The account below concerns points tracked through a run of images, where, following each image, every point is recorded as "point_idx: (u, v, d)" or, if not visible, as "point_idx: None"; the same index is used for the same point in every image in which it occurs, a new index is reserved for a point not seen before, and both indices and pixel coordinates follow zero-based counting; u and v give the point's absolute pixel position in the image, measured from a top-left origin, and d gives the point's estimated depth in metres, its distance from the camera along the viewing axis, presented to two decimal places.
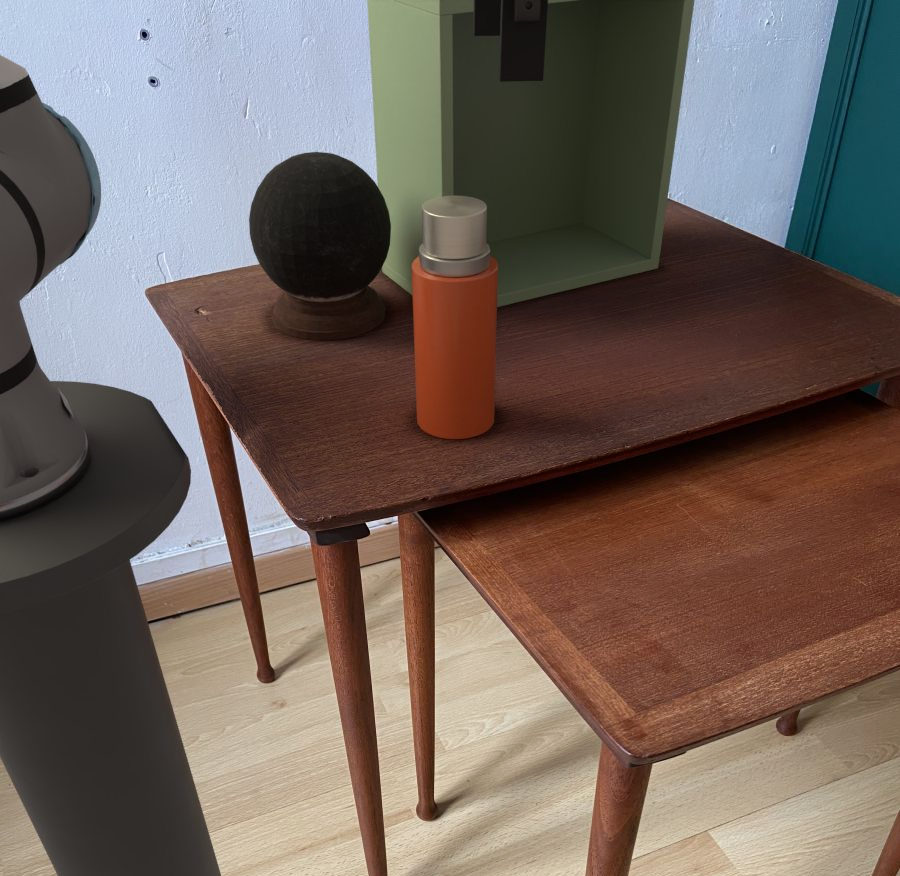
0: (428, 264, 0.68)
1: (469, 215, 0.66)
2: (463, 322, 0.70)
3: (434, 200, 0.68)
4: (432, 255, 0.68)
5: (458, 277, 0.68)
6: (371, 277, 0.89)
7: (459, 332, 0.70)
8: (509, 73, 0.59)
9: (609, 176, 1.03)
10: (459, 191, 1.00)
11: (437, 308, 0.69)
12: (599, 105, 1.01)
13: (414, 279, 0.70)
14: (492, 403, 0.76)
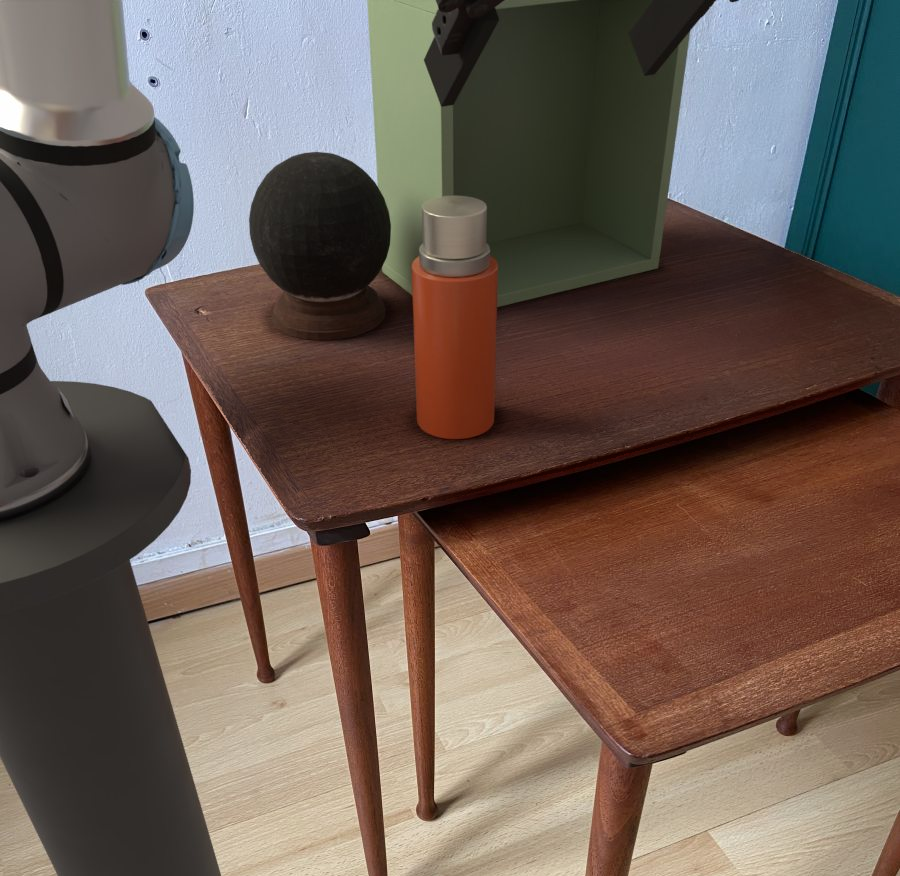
0: (428, 264, 0.68)
1: (469, 215, 0.66)
2: (463, 322, 0.70)
3: (434, 200, 0.68)
4: (432, 255, 0.68)
5: (458, 277, 0.68)
6: (371, 277, 0.89)
7: (459, 332, 0.70)
8: (429, 64, 0.51)
9: (609, 176, 1.03)
10: (459, 191, 1.00)
11: (437, 308, 0.69)
12: (599, 105, 1.01)
13: (414, 279, 0.70)
14: (492, 403, 0.76)
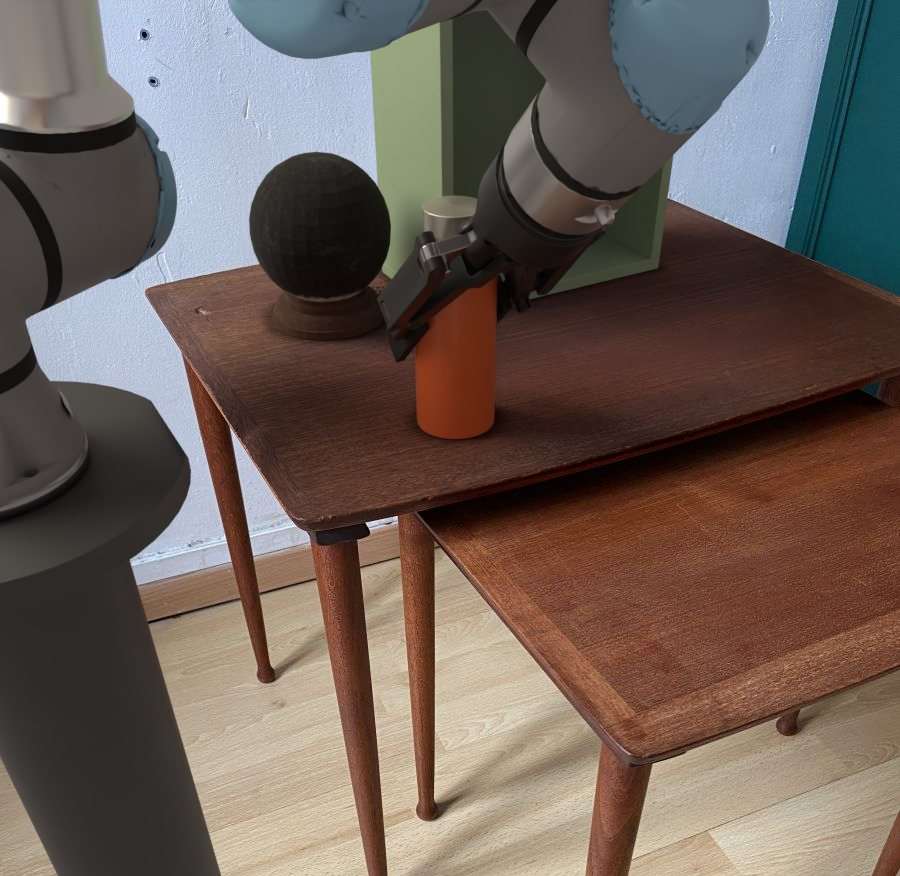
0: None
1: (469, 215, 0.66)
2: (463, 322, 0.70)
3: (435, 200, 0.68)
4: None
5: None
6: (371, 277, 0.89)
7: (459, 332, 0.70)
8: (388, 335, 0.75)
9: None
10: (459, 191, 1.00)
11: None
12: None
13: None
14: (492, 403, 0.76)
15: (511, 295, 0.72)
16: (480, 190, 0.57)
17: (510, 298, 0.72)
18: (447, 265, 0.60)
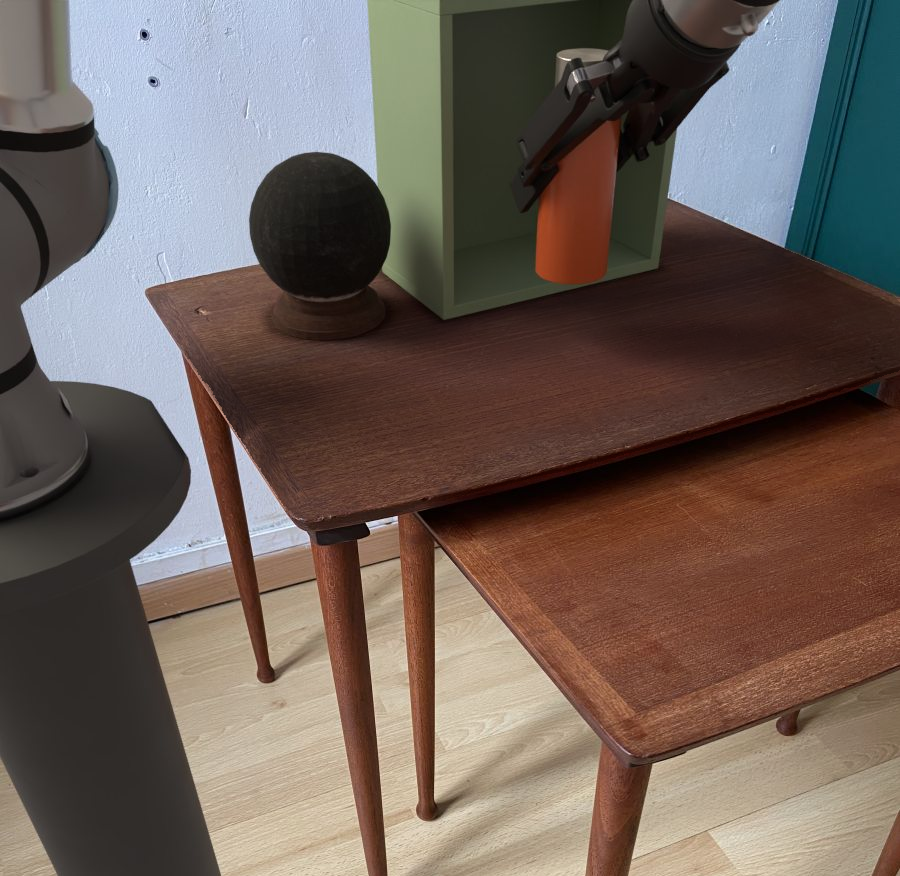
0: None
1: None
2: (590, 165, 0.77)
3: (566, 51, 0.75)
4: None
5: None
6: (371, 277, 0.89)
7: (586, 175, 0.77)
8: (513, 187, 0.82)
9: None
10: (459, 191, 1.00)
11: None
12: None
13: None
14: (607, 251, 0.83)
15: (630, 144, 0.79)
16: (628, 16, 0.64)
17: (629, 148, 0.79)
18: None
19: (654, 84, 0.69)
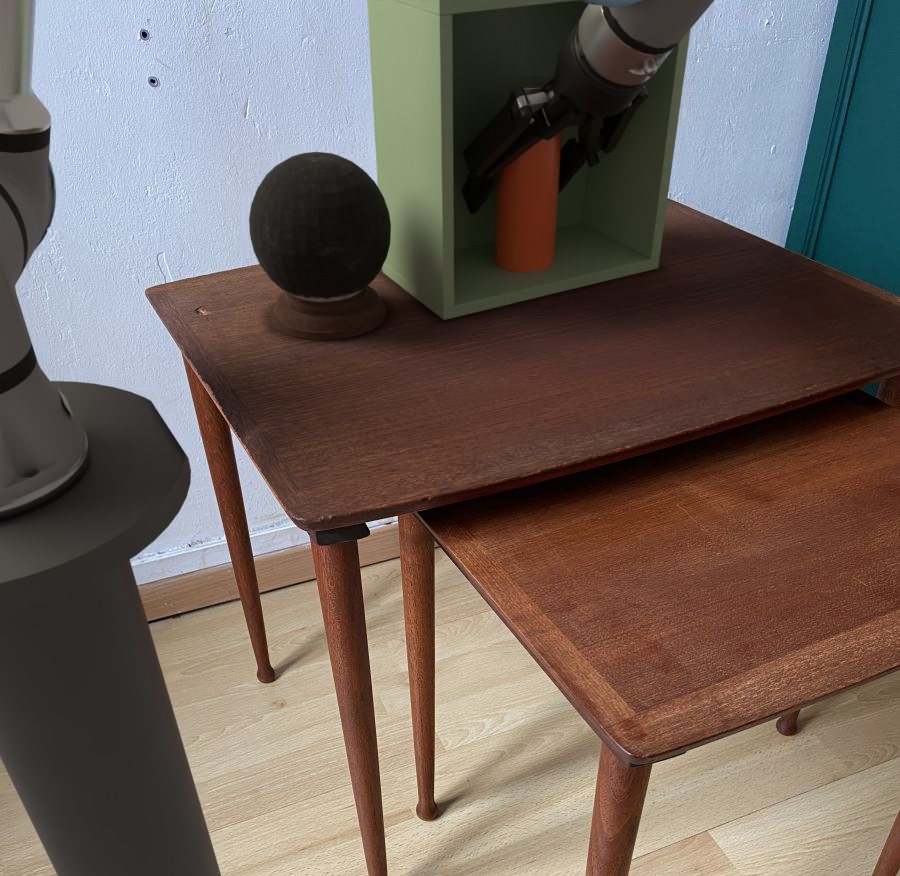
0: None
1: None
2: (536, 172, 0.93)
3: (516, 78, 0.91)
4: None
5: None
6: (371, 277, 0.89)
7: (533, 181, 0.93)
8: (464, 192, 0.97)
9: (609, 176, 1.03)
10: (459, 191, 1.00)
11: (517, 161, 0.92)
12: None
13: None
14: (553, 245, 0.99)
15: (584, 153, 0.95)
16: (558, 58, 0.80)
17: (583, 156, 0.96)
18: None
19: (583, 111, 0.85)
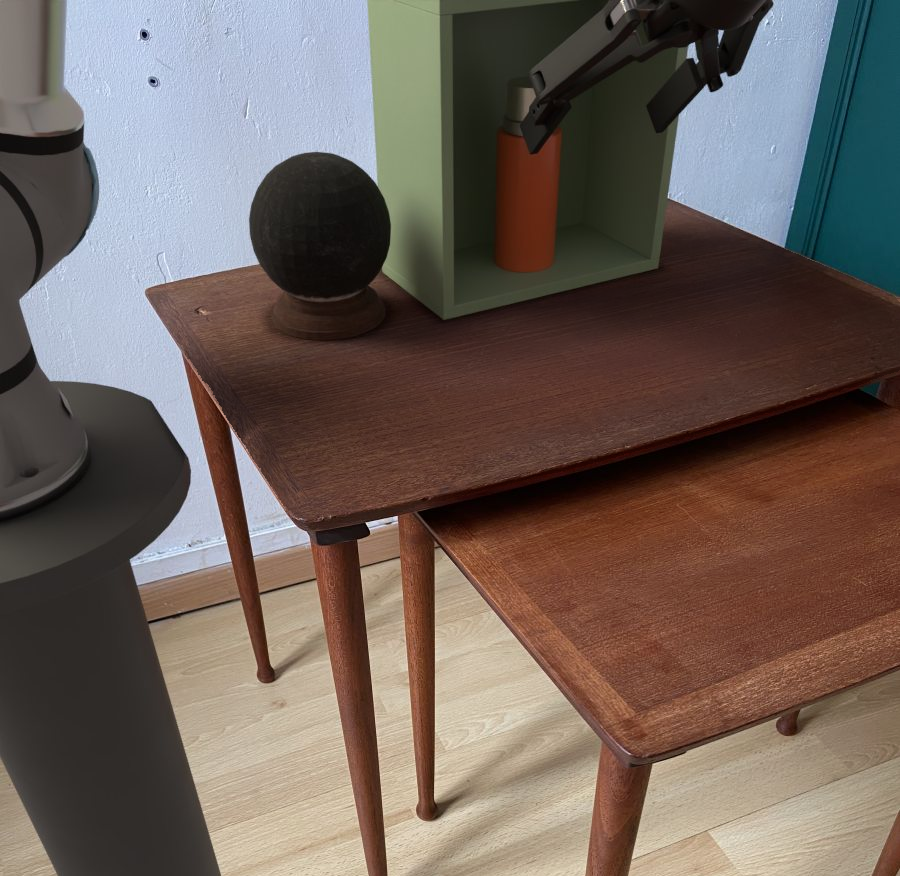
0: (511, 127, 0.91)
1: None
2: (536, 173, 0.93)
3: (516, 79, 0.91)
4: (514, 120, 0.91)
5: None
6: (371, 277, 0.89)
7: (533, 181, 0.93)
8: (523, 128, 0.81)
9: (609, 176, 1.03)
10: (459, 191, 1.00)
11: (517, 161, 0.92)
12: (599, 105, 1.01)
13: (499, 140, 0.93)
14: (553, 245, 0.99)
15: (704, 76, 0.81)
16: None
17: (704, 79, 0.81)
18: None
19: (691, 27, 0.71)
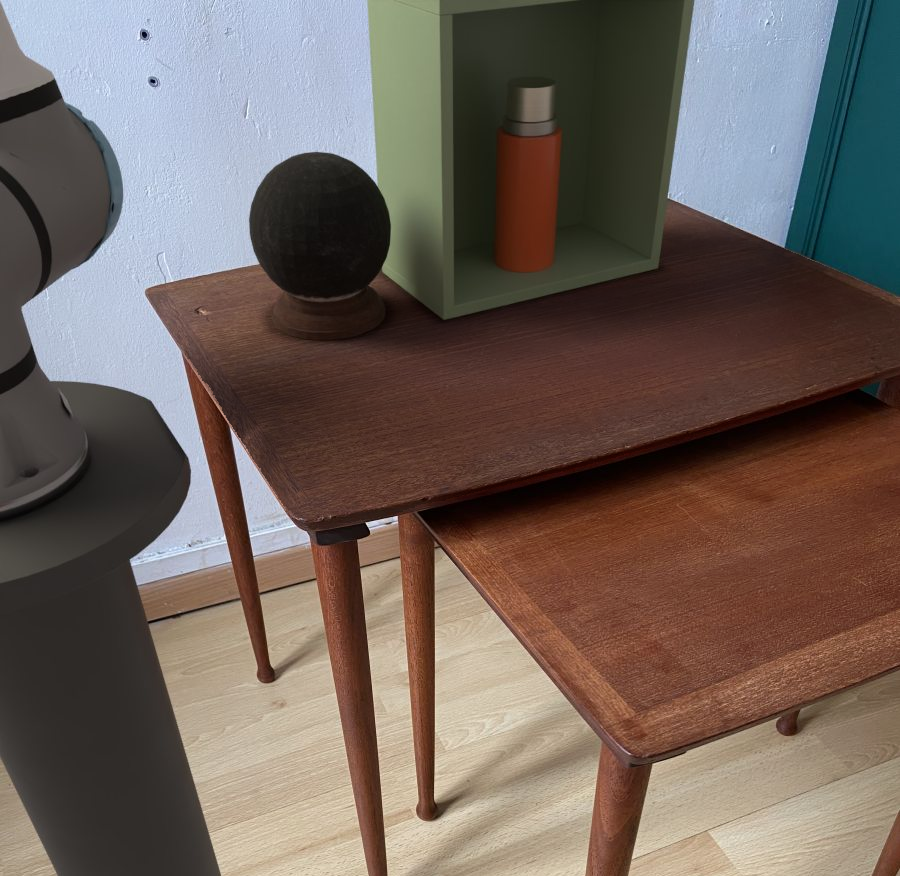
0: (511, 127, 0.91)
1: (543, 87, 0.89)
2: (536, 173, 0.93)
3: (516, 79, 0.91)
4: (514, 120, 0.91)
5: (533, 136, 0.91)
6: (371, 277, 0.89)
7: (533, 181, 0.93)
8: None
9: (609, 176, 1.03)
10: (459, 191, 1.00)
11: (517, 161, 0.92)
12: (599, 105, 1.01)
13: (499, 140, 0.93)
14: (553, 245, 0.99)
15: None
16: None
17: None
18: None
19: None
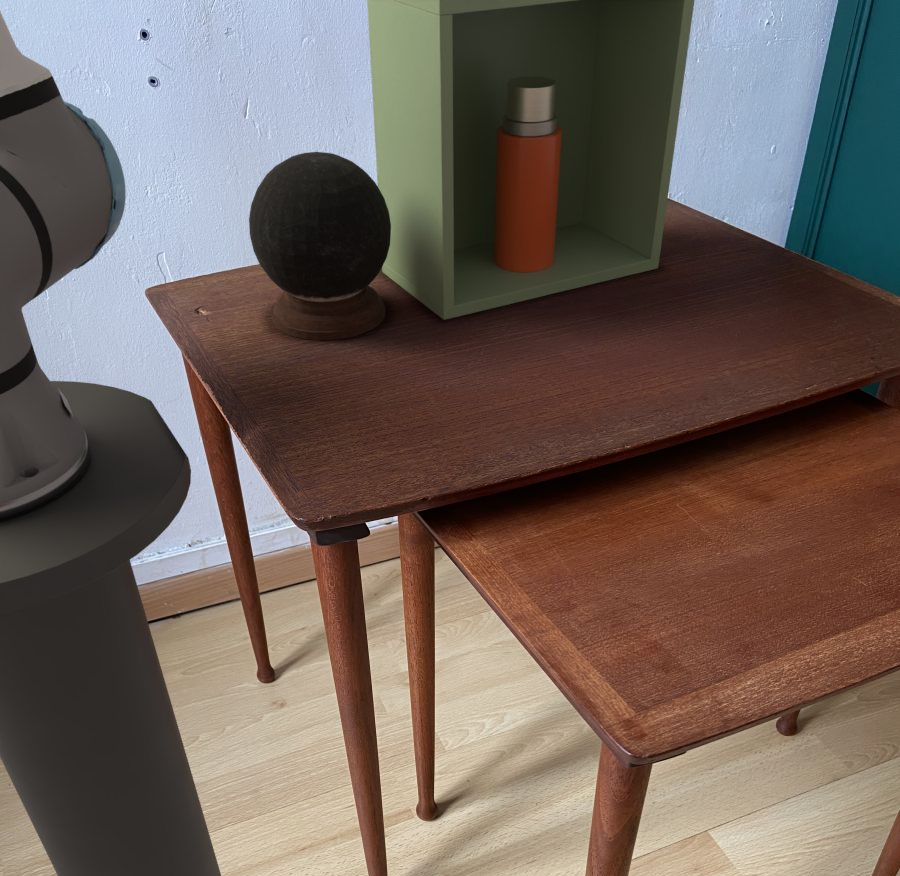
0: (511, 127, 0.91)
1: (543, 87, 0.89)
2: (536, 173, 0.93)
3: (516, 79, 0.91)
4: (514, 120, 0.91)
5: (533, 136, 0.91)
6: (371, 277, 0.89)
7: (533, 181, 0.93)
8: None
9: (609, 176, 1.03)
10: (459, 191, 1.00)
11: (517, 161, 0.92)
12: (599, 105, 1.01)
13: (499, 140, 0.93)
14: (553, 245, 0.99)
15: None
16: None
17: None
18: None
19: None
